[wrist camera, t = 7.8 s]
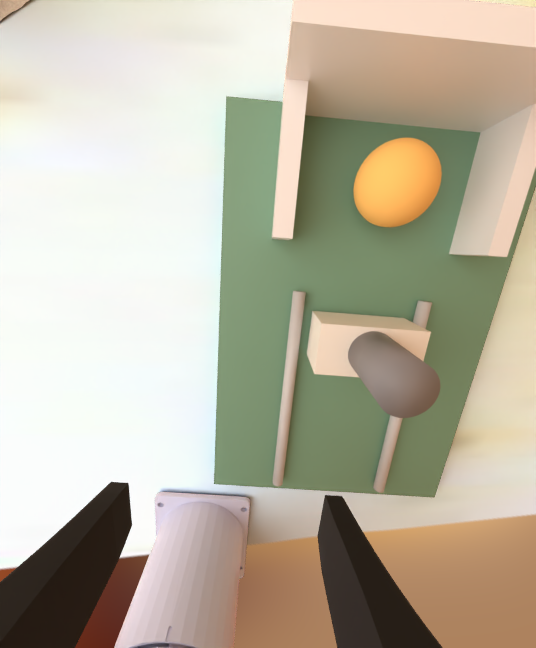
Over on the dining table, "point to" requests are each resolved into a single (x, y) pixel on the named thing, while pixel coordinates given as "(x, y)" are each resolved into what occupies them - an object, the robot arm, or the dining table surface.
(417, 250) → the pitch
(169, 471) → the dining table surface
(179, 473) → the dining table surface
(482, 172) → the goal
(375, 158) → the ball
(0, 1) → the condiment
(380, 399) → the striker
